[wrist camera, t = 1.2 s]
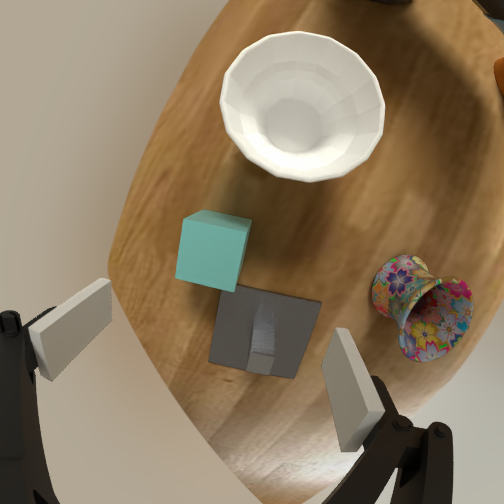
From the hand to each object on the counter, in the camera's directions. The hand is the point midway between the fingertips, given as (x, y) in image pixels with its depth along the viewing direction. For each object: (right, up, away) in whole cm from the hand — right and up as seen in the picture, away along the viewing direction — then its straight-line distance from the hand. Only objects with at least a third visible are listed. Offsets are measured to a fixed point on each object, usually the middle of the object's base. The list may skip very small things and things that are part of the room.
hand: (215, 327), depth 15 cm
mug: (+22, 0, +17) cm, 28 cm away
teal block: (-1, +6, +17) cm, 18 cm away
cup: (+7, +18, +13) cm, 23 cm away
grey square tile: (+3, -6, +20) cm, 21 cm away
